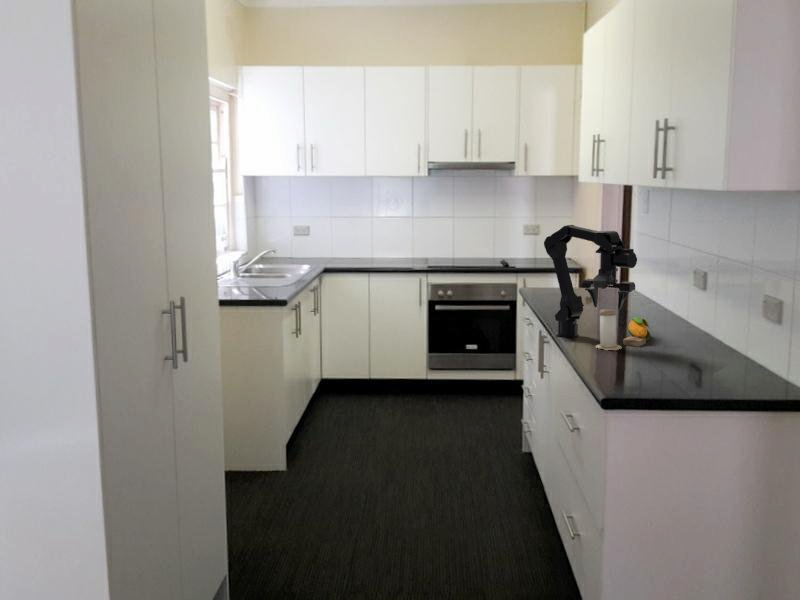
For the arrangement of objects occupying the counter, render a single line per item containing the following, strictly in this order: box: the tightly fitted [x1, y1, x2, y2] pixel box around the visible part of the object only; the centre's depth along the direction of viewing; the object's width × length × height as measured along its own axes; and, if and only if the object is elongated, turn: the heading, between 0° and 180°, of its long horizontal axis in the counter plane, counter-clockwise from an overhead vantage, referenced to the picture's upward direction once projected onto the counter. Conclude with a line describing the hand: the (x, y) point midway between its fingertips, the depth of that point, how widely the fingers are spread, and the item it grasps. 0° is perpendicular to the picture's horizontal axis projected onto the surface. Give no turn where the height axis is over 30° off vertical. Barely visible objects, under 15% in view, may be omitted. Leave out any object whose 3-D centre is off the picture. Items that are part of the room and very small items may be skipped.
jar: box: [599, 308, 617, 348], centre depth 296 cm, size 6×6×13 cm
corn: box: [628, 316, 651, 341], centre depth 311 cm, size 7×8×20 cm
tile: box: [622, 336, 647, 347], centre depth 302 cm, size 6×6×2 cm
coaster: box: [595, 343, 622, 351], centre depth 297 cm, size 9×9×1 cm
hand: (607, 308), depth 303 cm, fingers open, 9 cm apart
